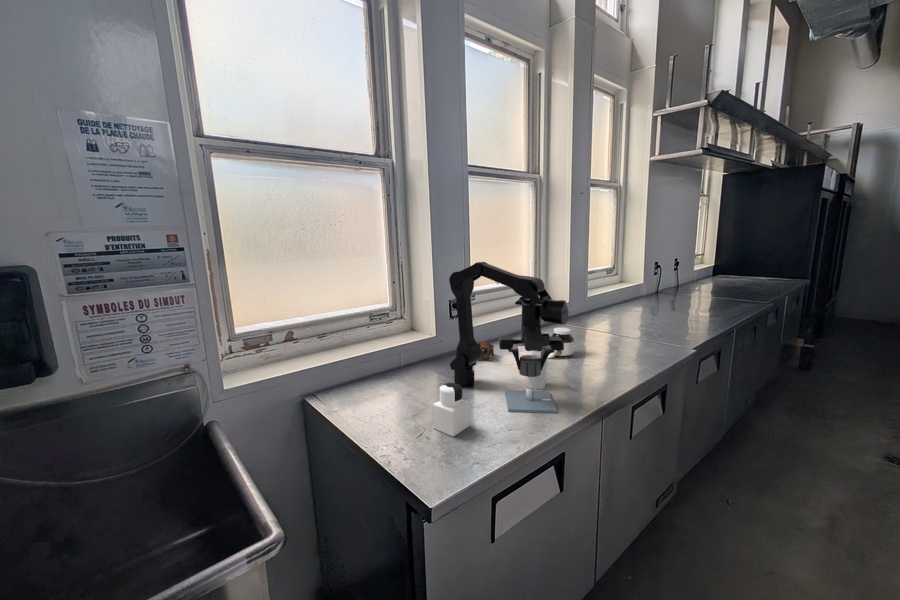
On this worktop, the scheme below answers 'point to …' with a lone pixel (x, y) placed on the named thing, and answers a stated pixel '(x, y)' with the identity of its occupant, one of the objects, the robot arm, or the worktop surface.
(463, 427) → the medicine bottle
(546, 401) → the base plate
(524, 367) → the knob
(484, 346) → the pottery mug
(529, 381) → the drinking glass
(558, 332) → the spread jar
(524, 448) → the worktop surface
